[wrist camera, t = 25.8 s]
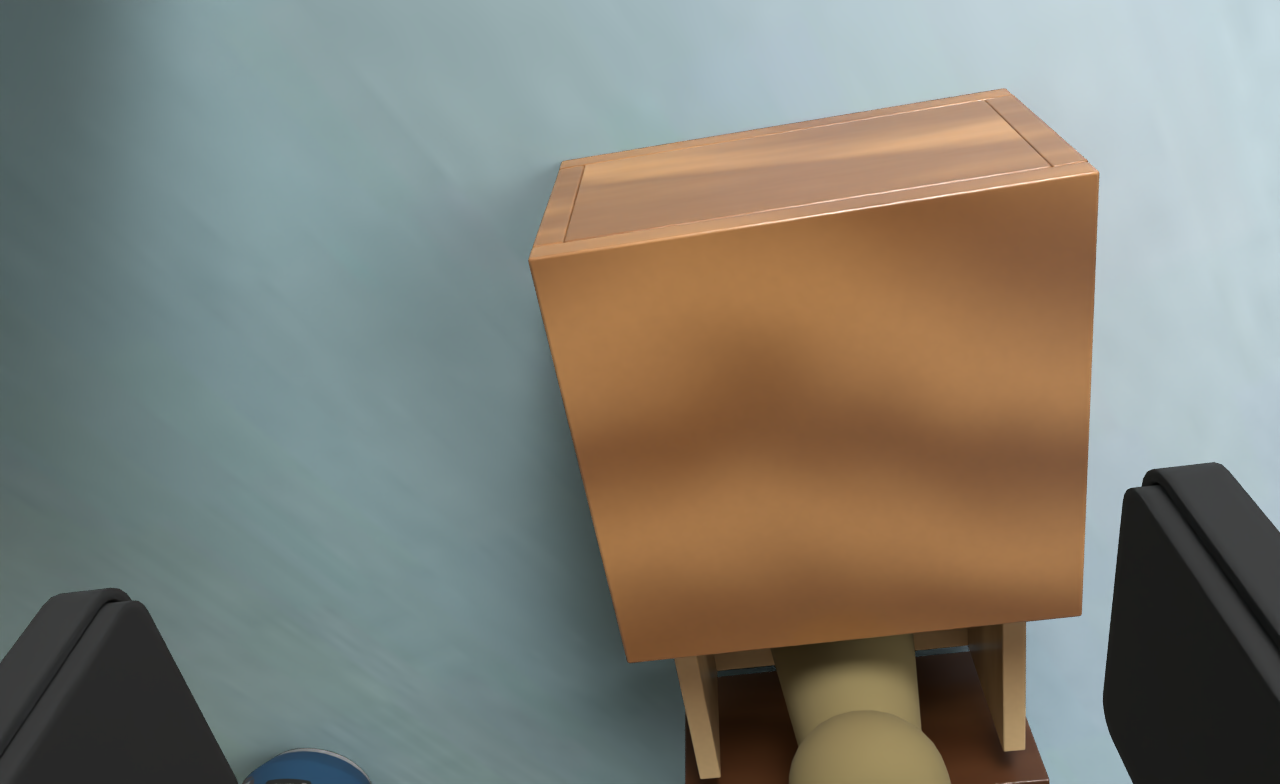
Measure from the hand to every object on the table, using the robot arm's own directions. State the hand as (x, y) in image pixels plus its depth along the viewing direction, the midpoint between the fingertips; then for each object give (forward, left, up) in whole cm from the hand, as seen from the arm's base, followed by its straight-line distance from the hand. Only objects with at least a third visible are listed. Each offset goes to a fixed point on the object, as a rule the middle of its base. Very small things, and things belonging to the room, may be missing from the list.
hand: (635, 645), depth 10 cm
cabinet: (+5, -10, -27) cm, 29 cm away
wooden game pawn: (+7, -21, -25) cm, 33 cm away
